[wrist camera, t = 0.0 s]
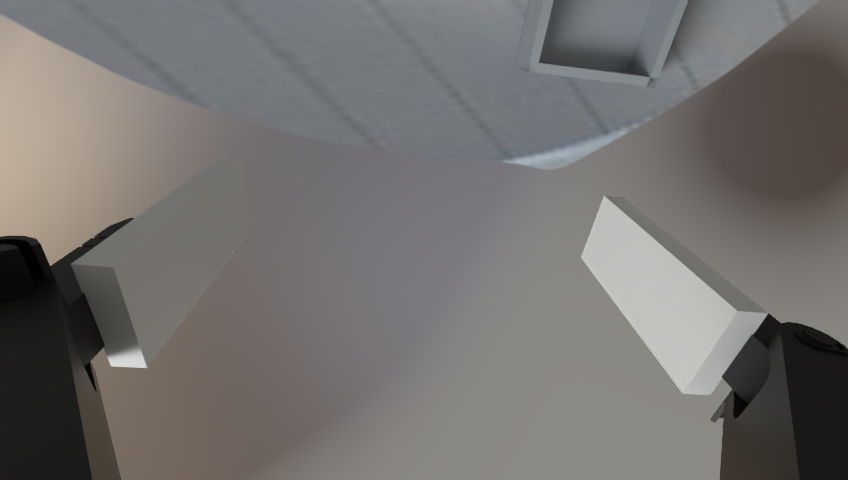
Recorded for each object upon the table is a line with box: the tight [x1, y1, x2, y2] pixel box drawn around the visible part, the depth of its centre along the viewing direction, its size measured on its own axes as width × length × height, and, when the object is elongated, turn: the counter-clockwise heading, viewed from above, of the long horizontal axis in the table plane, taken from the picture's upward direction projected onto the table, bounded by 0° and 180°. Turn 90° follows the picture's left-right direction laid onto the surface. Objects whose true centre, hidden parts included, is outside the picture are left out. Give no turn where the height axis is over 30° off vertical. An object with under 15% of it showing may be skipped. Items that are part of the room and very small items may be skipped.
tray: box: [515, 0, 688, 88], centre depth 33 cm, size 12×12×4 cm
